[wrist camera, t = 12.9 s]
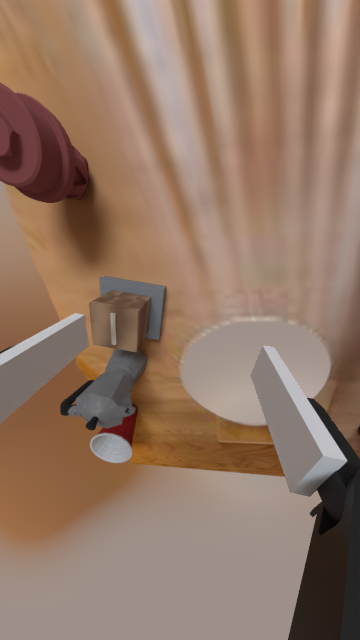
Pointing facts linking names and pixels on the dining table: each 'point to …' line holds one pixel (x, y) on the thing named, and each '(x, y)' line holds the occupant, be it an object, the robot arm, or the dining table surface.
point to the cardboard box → (120, 320)
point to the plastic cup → (115, 441)
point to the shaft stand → (142, 289)
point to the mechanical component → (37, 151)
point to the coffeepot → (108, 392)
